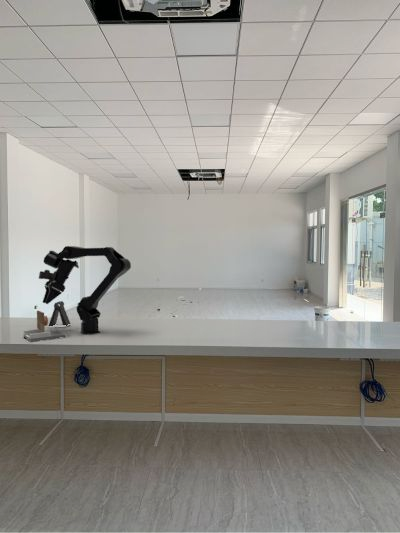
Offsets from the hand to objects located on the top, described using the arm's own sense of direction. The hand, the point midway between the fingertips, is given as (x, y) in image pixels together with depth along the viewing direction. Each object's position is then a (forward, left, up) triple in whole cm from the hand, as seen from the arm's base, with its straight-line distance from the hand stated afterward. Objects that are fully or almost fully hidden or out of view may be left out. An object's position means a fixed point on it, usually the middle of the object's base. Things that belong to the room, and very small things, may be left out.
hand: (44, 303), depth 173 cm
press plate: (+3, +6, -10) cm, 12 cm away
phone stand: (-11, -15, -14) cm, 23 cm away
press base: (+2, +6, -14) cm, 15 cm away
